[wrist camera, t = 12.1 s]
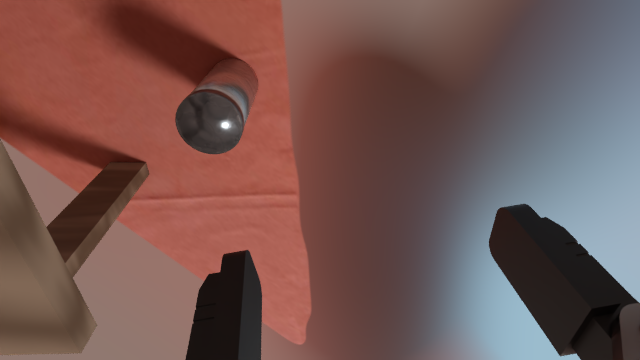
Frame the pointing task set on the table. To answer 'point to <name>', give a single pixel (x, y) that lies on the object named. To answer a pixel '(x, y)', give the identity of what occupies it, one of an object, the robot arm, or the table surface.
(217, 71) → the salt shaker
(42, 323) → the walnut shelf
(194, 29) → the table surface
